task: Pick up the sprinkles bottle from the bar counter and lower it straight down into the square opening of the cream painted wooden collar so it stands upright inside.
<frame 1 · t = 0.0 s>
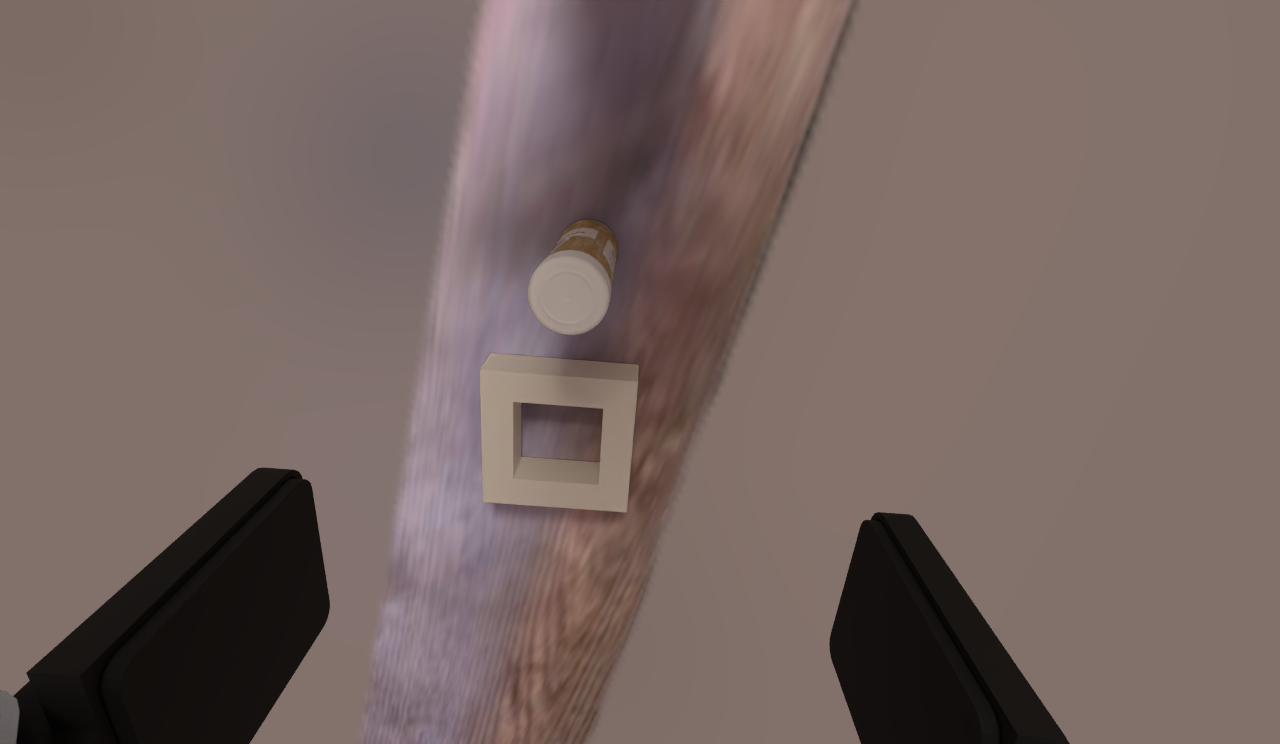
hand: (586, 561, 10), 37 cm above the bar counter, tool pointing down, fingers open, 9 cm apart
sprinkles bottle: (589, 249, 45), on the bar counter
collar: (562, 424, 51), on the bar counter
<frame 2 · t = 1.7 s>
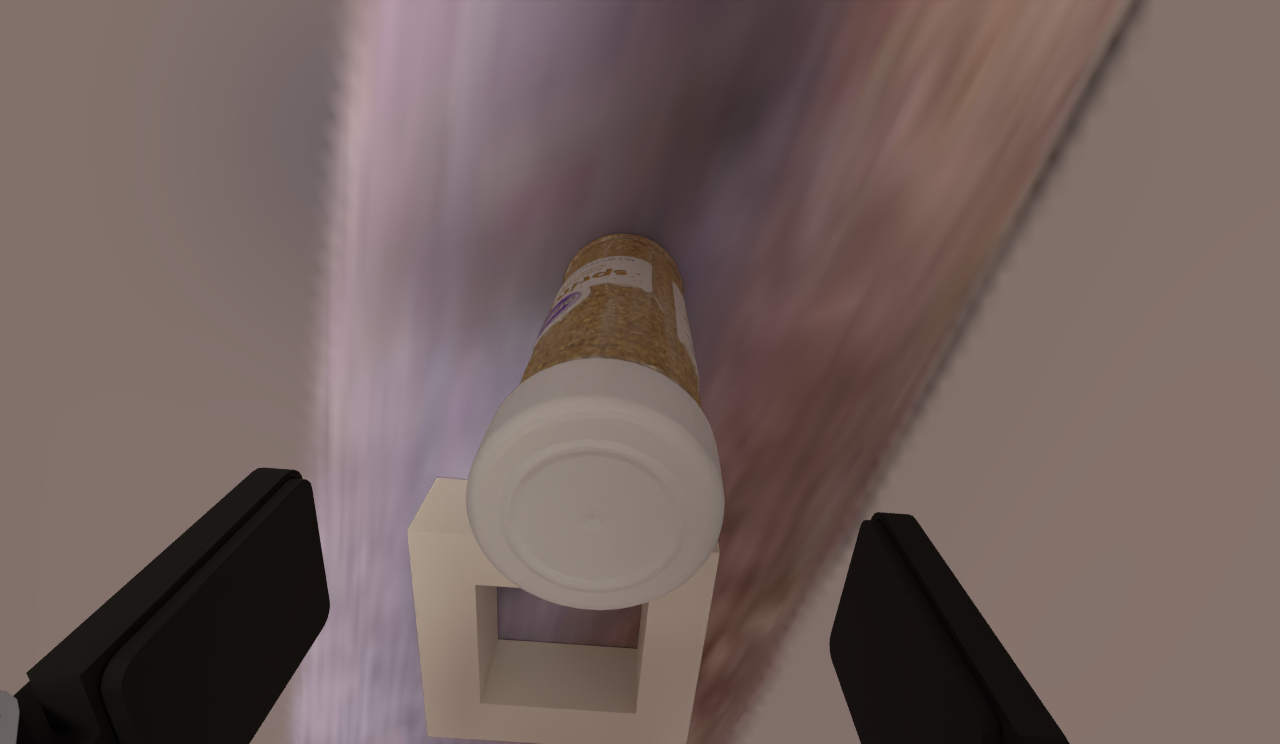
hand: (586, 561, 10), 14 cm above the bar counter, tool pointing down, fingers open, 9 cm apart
sprinkles bottle: (623, 290, 22), on the bar counter
collar: (570, 591, 28), on the bar counter
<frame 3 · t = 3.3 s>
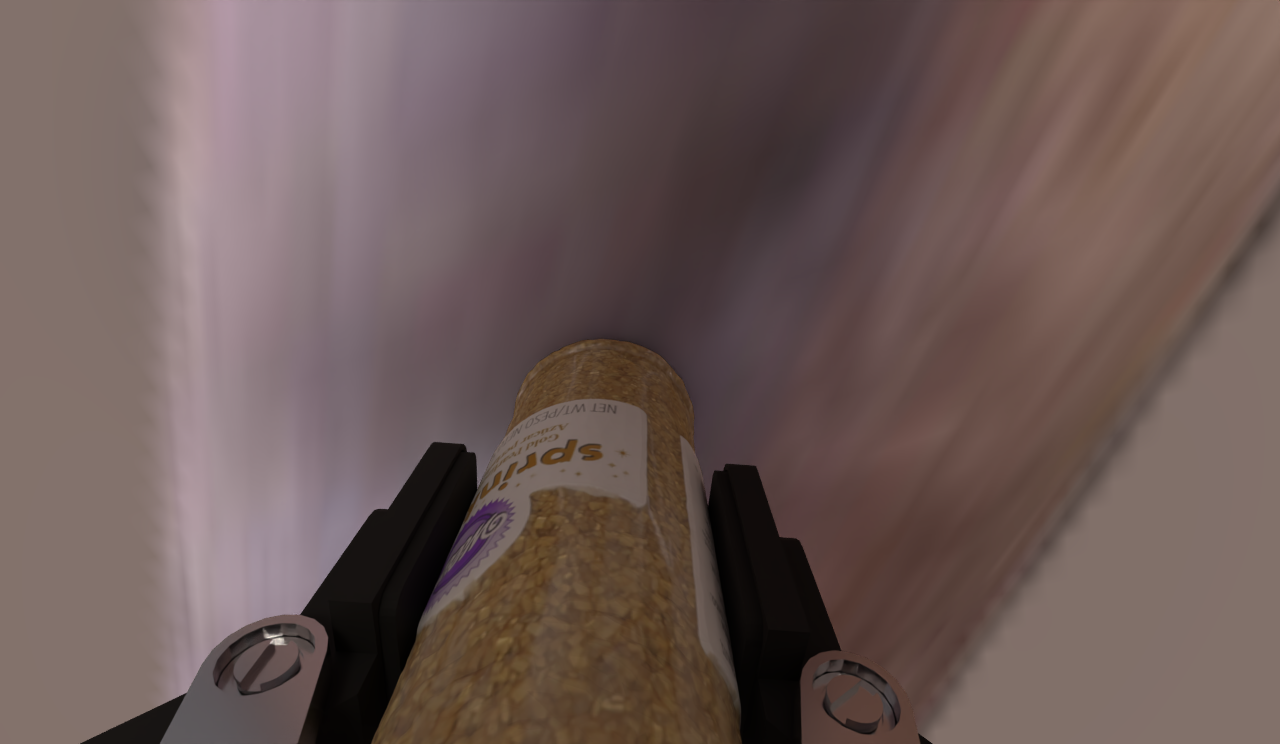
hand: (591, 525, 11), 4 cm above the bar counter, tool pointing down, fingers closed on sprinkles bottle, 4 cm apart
sprinkles bottle: (605, 414, 15), on the bar counter, touching gripper
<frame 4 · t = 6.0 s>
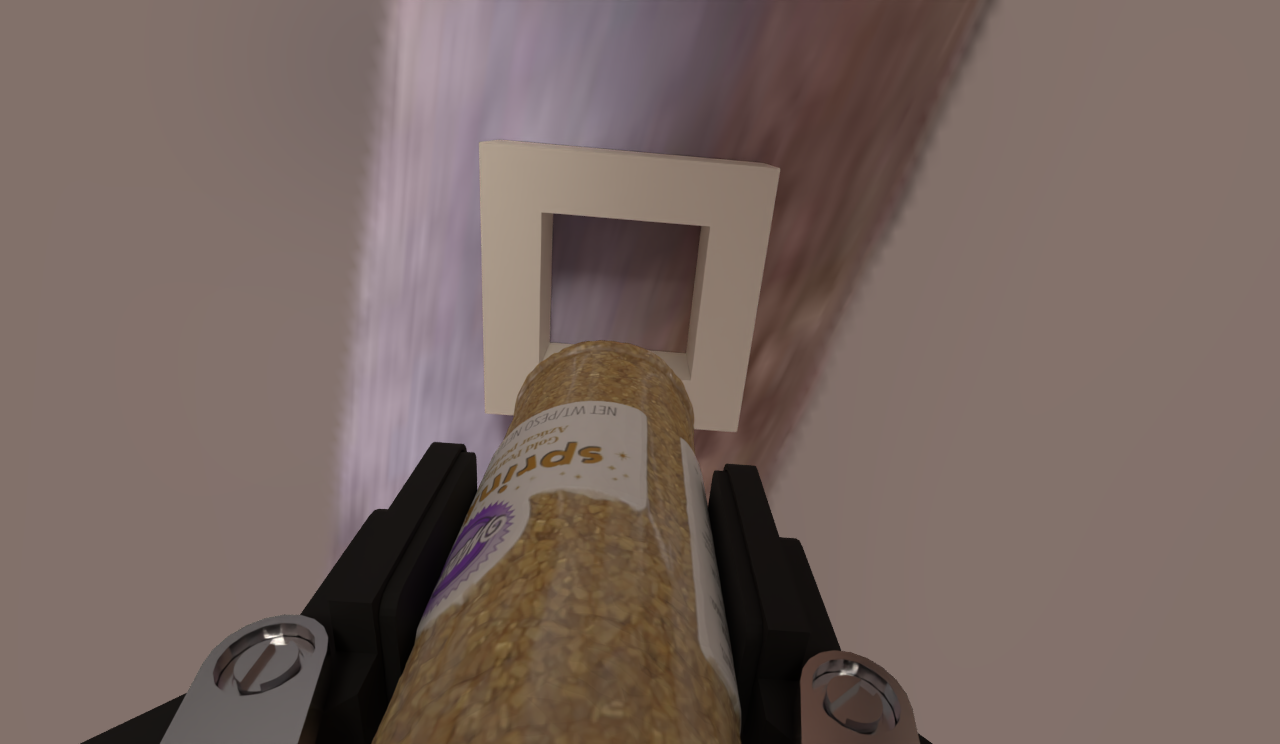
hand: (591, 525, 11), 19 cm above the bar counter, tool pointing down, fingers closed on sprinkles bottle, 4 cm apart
sprinkles bottle: (605, 416, 15), point 15 cm above the bar counter, touching gripper
collar: (622, 281, 29), on the bar counter
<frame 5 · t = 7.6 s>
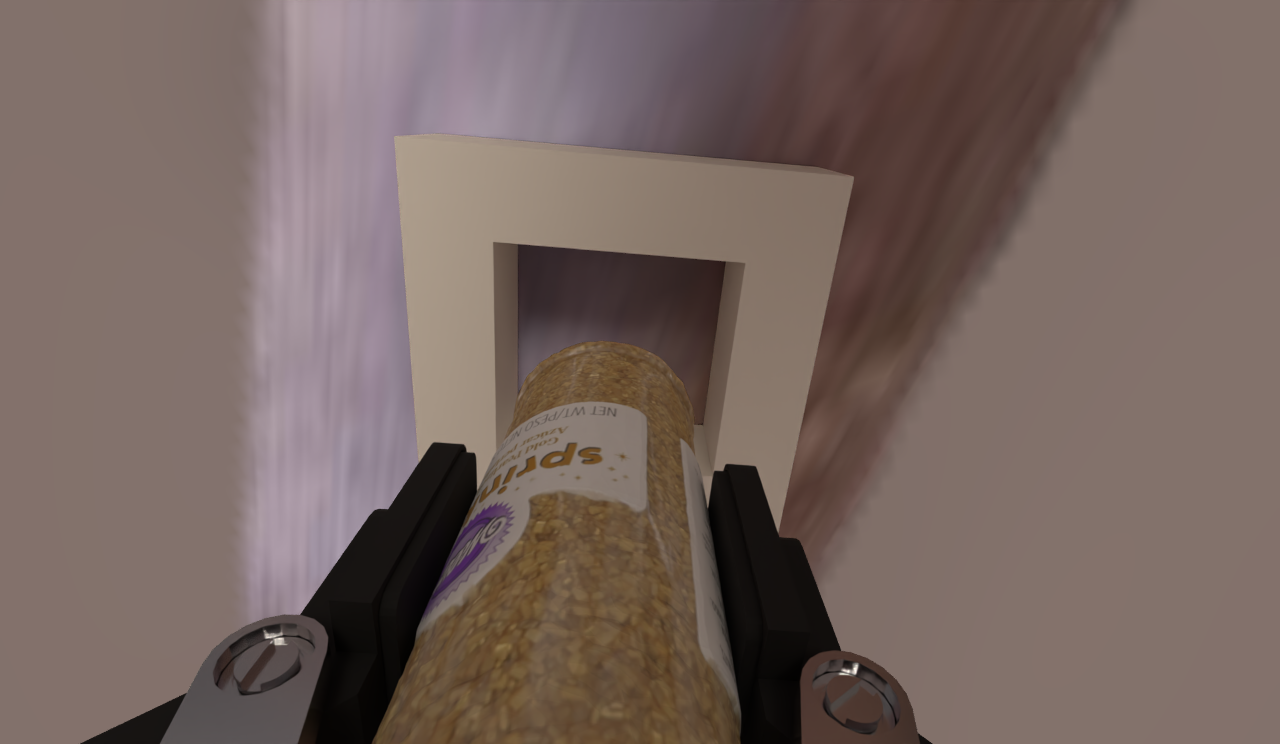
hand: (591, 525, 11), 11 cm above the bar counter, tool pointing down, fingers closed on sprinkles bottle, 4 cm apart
sprinkles bottle: (605, 416, 15), point 6 cm above the bar counter, touching gripper
collar: (616, 330, 21), on the bar counter
when the fingers open (6 cm above the bar counter, at t = 8.9 s): sprinkles bottle drops 1 cm, resting in collar.
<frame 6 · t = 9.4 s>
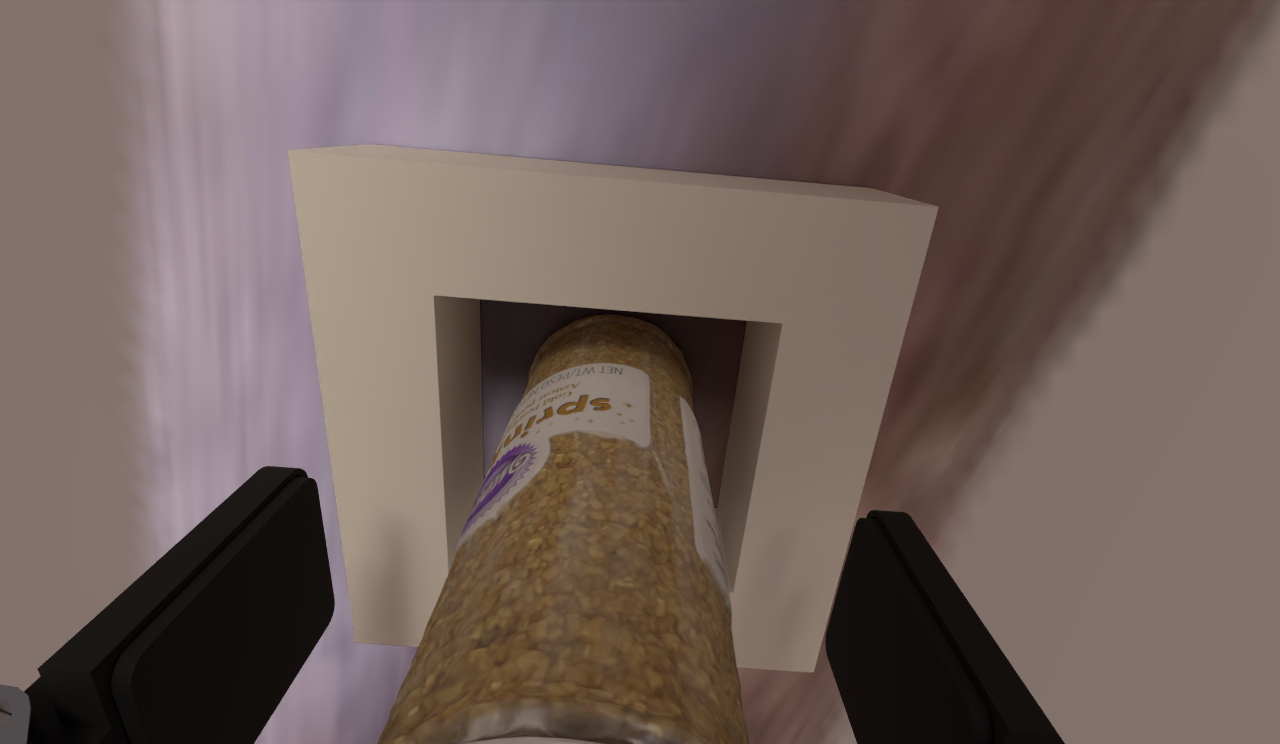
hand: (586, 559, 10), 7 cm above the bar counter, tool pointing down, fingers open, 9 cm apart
sprinkles bottle: (611, 385, 17), resting in collar
collar: (608, 394, 16), on the bar counter
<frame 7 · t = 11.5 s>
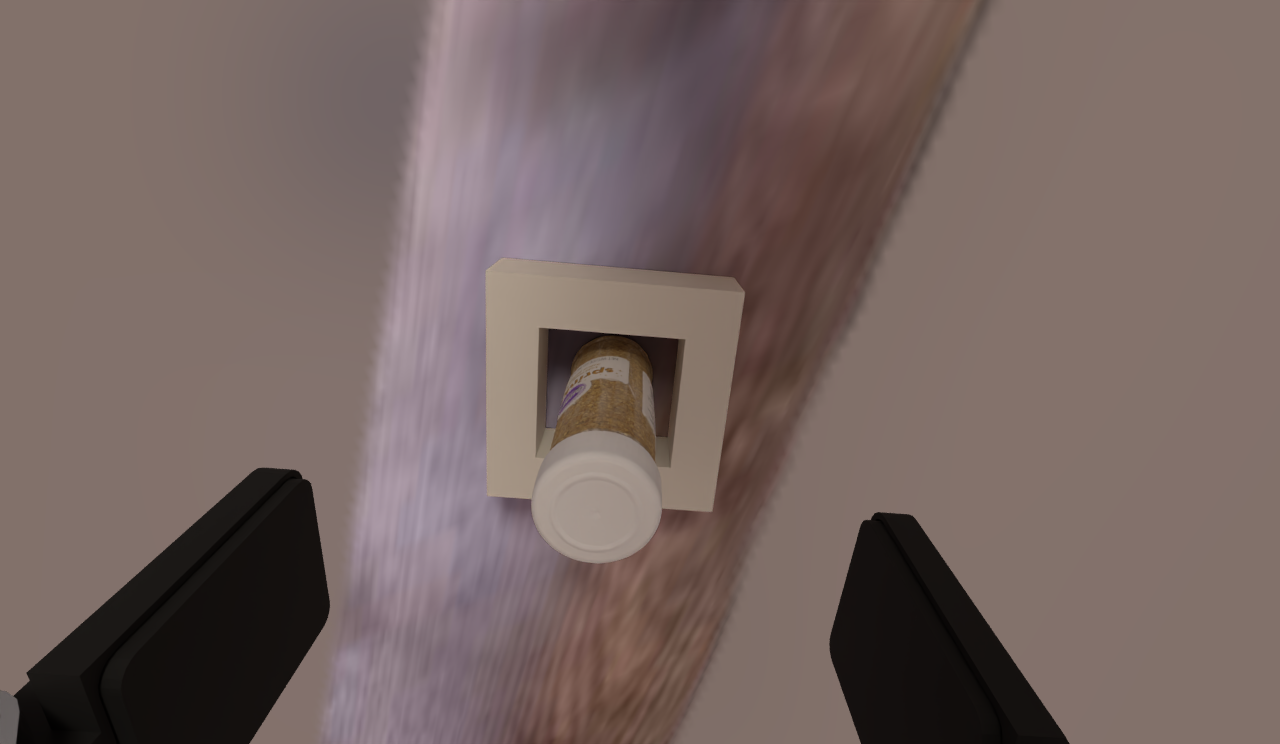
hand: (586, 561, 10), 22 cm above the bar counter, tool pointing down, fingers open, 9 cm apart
sprinkles bottle: (612, 371, 33), resting in collar
collar: (610, 375, 33), on the bar counter
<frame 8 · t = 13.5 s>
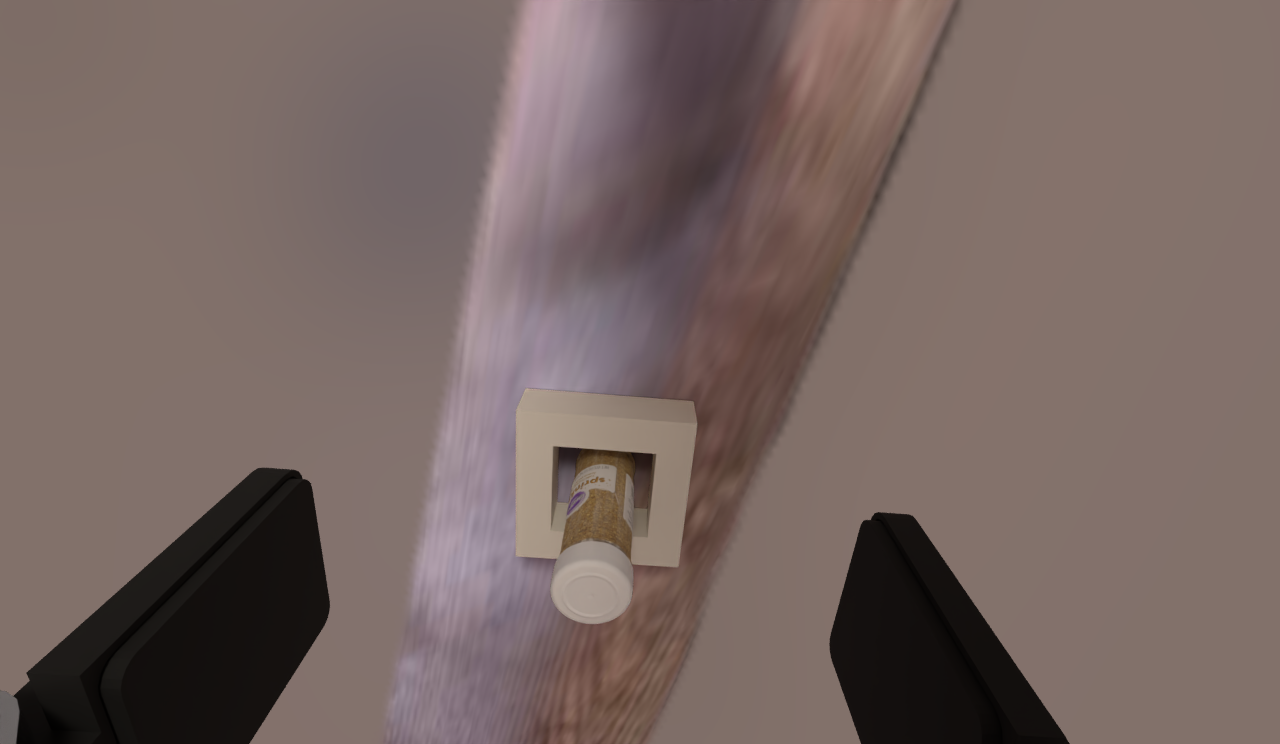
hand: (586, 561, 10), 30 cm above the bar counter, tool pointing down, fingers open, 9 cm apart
sprinkles bottle: (606, 463, 45), resting in collar
collar: (604, 466, 45), on the bar counter
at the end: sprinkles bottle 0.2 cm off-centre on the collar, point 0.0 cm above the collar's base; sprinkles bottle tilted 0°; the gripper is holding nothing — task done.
